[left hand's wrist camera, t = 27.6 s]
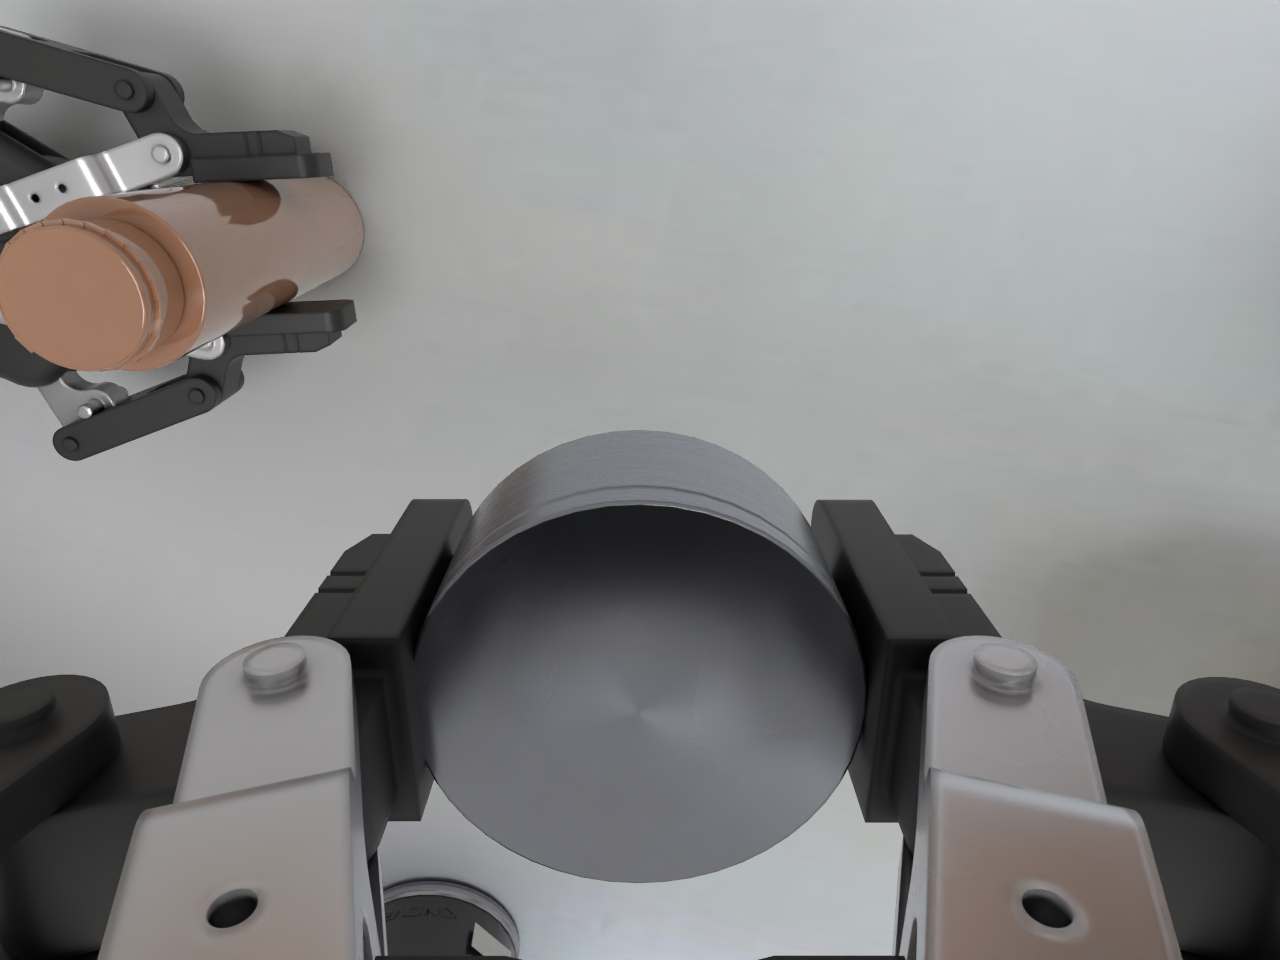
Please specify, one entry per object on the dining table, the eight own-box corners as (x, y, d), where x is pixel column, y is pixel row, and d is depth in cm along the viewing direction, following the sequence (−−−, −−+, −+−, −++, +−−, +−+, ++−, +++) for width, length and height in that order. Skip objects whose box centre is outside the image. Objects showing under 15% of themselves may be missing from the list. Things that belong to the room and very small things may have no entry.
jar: (312, 149, 33) (59, 160, 17) (385, 238, 34) (209, 321, 19) (235, 215, 33) (-72, 280, 18) (310, 300, 35) (81, 427, 20)
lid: (717, 355, 10) (738, 412, 8) (886, 666, 11) (940, 781, 9) (374, 543, 10) (313, 637, 8) (574, 807, 12) (562, 940, 10)
